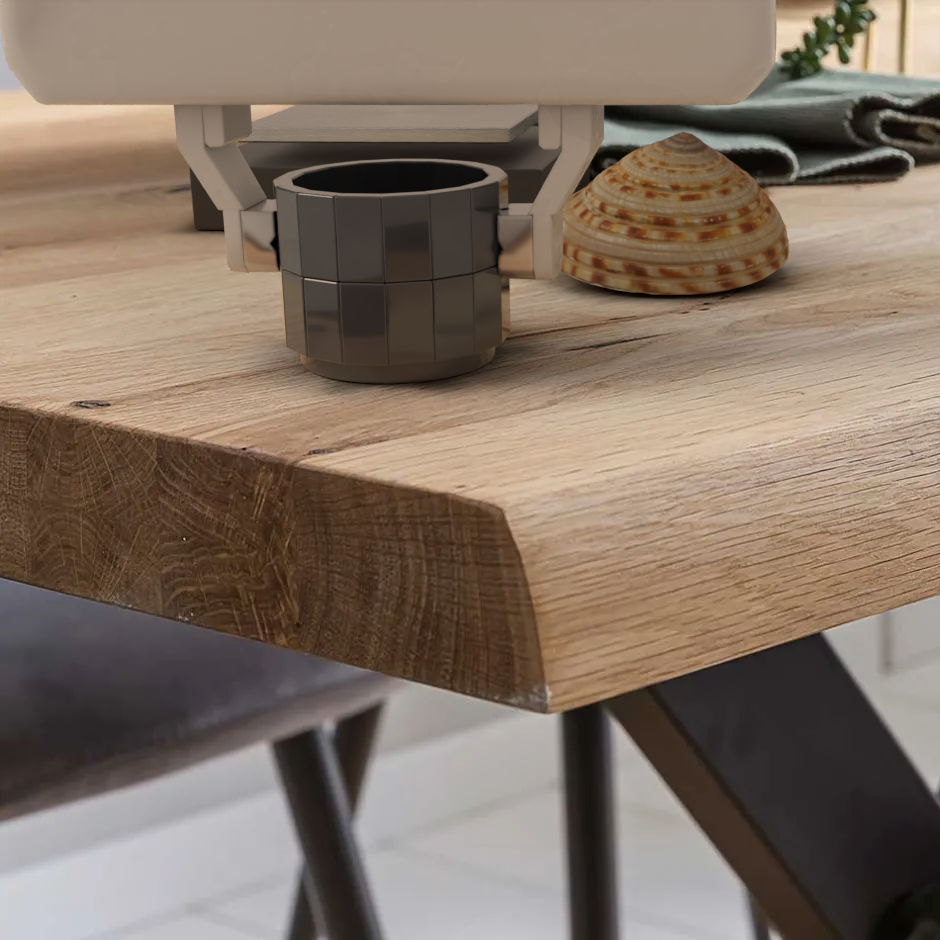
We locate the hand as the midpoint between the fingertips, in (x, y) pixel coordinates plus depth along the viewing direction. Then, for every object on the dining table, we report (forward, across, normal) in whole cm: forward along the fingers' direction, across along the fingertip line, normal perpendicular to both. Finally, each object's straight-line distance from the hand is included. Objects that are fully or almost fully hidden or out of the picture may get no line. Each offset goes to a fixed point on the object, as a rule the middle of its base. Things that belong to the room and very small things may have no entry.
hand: (393, 272), depth 43 cm
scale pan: (-1, +6, -23) cm, 24 cm away
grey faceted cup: (+2, 0, 0) cm, 2 cm away
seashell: (+3, -6, -12) cm, 14 cm away
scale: (+2, +6, -23) cm, 24 cm away
